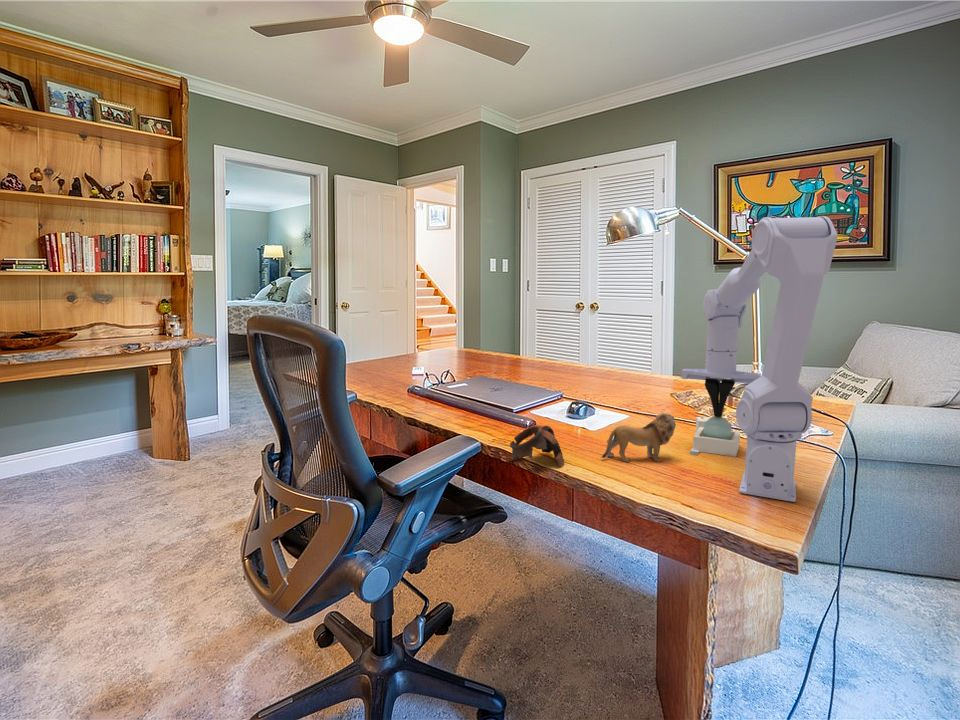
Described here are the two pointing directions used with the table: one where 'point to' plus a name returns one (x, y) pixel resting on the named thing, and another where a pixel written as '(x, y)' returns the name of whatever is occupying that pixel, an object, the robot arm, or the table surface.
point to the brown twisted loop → (537, 443)
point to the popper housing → (716, 443)
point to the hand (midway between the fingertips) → (718, 415)
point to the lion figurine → (643, 436)
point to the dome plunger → (717, 428)
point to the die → (701, 422)
